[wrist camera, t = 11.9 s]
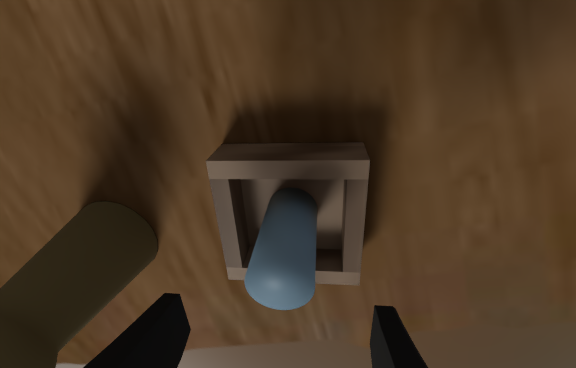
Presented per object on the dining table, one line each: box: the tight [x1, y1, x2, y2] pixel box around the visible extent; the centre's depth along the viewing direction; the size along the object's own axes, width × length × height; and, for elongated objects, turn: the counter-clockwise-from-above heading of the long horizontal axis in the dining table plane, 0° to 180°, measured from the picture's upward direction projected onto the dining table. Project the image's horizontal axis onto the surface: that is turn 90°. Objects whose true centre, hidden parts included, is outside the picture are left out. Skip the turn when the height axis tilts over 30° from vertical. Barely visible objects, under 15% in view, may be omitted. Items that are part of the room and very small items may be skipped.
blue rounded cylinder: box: [245, 188, 317, 310], centre depth 15 cm, size 3×3×6 cm
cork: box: [0, 201, 158, 368], centre depth 16 cm, size 6×6×11 cm
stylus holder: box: [206, 142, 370, 285], centre depth 17 cm, size 8×8×3 cm
